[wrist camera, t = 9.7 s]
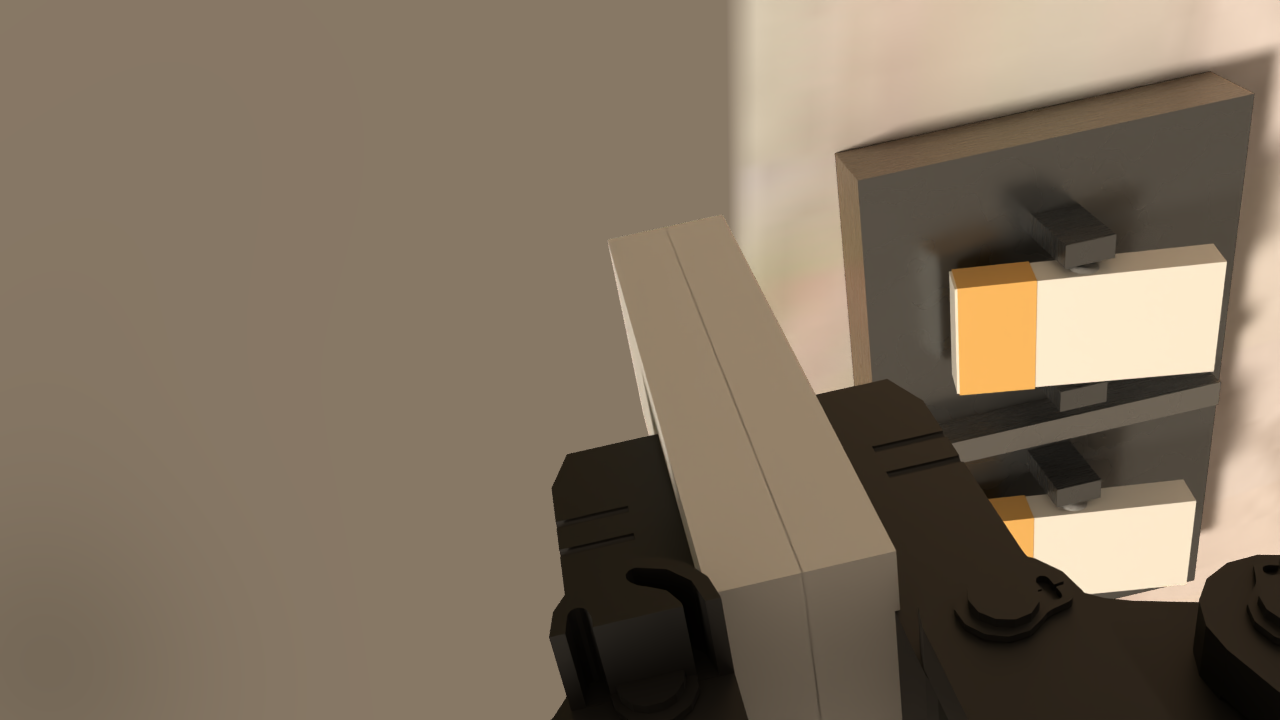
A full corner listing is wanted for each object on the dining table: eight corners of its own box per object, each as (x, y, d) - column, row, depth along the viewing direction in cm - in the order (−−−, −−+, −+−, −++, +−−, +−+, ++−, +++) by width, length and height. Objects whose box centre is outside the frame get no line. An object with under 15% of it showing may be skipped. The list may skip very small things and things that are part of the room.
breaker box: (1210, 71, 46) (1304, 118, 41) (1162, 542, 60) (1228, 621, 55) (835, 153, 46) (882, 211, 41) (872, 609, 60) (912, 695, 54)
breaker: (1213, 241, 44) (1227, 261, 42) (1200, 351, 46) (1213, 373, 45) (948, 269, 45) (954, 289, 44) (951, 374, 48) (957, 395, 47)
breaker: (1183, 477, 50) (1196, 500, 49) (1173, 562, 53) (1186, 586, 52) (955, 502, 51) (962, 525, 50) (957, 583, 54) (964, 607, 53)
